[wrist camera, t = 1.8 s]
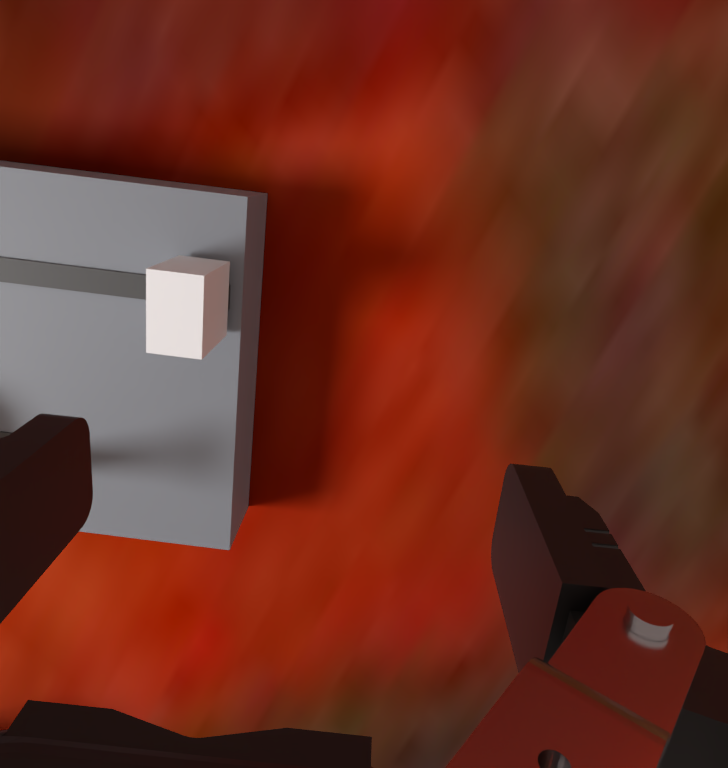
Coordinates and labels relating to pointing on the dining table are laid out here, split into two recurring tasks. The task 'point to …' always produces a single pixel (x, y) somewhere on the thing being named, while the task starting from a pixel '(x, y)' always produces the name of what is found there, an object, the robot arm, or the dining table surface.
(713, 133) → the dining table surface
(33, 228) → the panel
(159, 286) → the matte white cuboid
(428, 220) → the dining table surface
